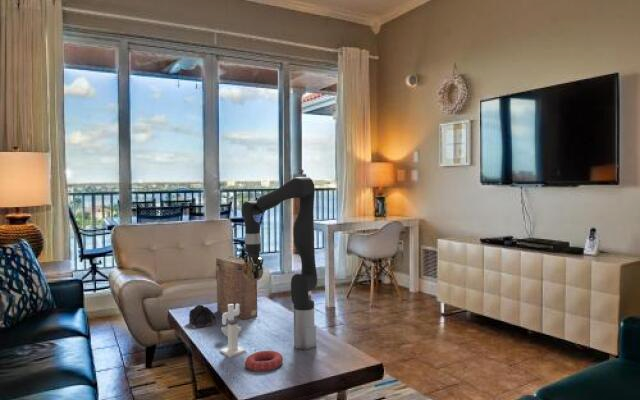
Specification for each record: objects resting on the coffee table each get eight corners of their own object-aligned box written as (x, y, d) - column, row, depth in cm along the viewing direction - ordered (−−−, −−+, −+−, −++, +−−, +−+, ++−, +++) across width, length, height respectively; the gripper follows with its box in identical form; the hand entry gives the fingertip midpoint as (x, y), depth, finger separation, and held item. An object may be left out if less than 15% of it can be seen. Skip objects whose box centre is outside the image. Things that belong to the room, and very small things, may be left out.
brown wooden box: (217, 310, 264) (215, 258, 262) (230, 307, 271) (229, 256, 269) (243, 320, 246) (242, 264, 244) (257, 316, 253) (256, 261, 251)
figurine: (218, 335, 223) (218, 304, 222) (234, 330, 230) (234, 300, 229) (227, 339, 218) (227, 307, 217) (244, 334, 225) (243, 303, 224)
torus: (268, 354, 200) (268, 346, 199) (290, 364, 190) (290, 355, 190) (237, 365, 188) (237, 357, 188) (259, 376, 178) (259, 367, 178)
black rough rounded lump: (212, 329, 234) (213, 309, 235) (184, 327, 234) (186, 307, 234) (217, 323, 248) (218, 304, 248) (191, 321, 248) (192, 302, 248)
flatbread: (246, 283, 221) (245, 262, 220) (242, 282, 224) (241, 261, 223) (264, 280, 227) (264, 259, 227) (260, 278, 230) (260, 258, 229)
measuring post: (246, 352, 202) (245, 320, 201) (230, 357, 197) (229, 324, 196) (236, 347, 208) (235, 316, 207) (220, 351, 202) (219, 320, 202)
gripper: (268, 243, 222) (268, 278, 223) (251, 240, 232) (251, 274, 233) (255, 244, 217) (255, 281, 217) (238, 241, 227) (239, 276, 228)
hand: (253, 277), depth 225 cm, fingers closed on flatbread, 3 cm apart
